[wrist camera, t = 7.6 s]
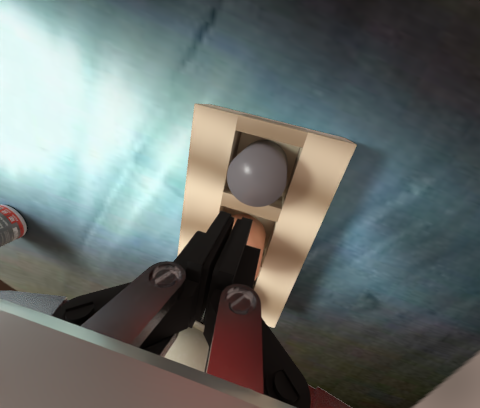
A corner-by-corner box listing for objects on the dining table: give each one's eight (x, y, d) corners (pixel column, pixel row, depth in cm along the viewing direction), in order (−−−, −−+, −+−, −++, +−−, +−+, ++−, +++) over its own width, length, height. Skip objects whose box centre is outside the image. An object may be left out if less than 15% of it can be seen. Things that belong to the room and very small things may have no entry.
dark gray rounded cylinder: (245, 134, 20) (233, 142, 16) (294, 146, 20) (295, 158, 15) (236, 179, 22) (222, 197, 18) (279, 192, 22) (276, 213, 17)
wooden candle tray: (210, 104, 21) (194, 103, 18) (345, 137, 20) (356, 144, 16) (187, 271, 31) (173, 292, 27) (276, 301, 29) (274, 328, 26)
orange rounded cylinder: (226, 208, 22) (209, 234, 17) (271, 221, 21) (265, 252, 17) (218, 244, 24) (201, 276, 19) (259, 257, 23) (251, 293, 19)
